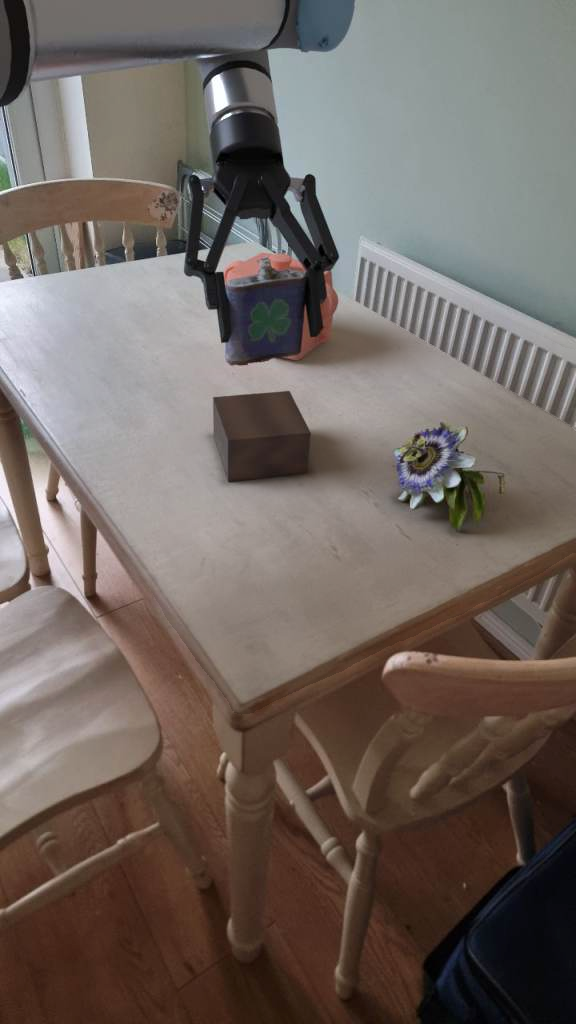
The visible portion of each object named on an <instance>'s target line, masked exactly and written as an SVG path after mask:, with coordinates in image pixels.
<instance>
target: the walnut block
mask: <svg viewBox="0 0 576 1024" xmlns="http://www.w3.org/2000/svg"><path fill="white" fill-rule="evenodd" d="M212 413H213V414H212V417H213V419H212V420H213V421H212V425H213V426H212V427H213V439H214V442H215V445H216V449H217V452H218V456H219V458H220V462H221V464H222V465H221V466H222V467H223V471H224V474H225V477H226V480H227V482H228V483H231V482H241V481H250V480H257V479H258V480H259V479H266V478H276V477H285V476H294V475H303V474H307V473H308V469H309V468H308V467H309V457H310V447H311V436H312V432H311V430H310V429H309V426H308V425H307V422H306V420H305V419H304V416H303V415H302V412H301V411H300V408H299V406H298V404H297V403H296V400H295V399H294V397H293V395H292V393H291V391H290V390H282V391H273V392H259V393H247V394H246V393H245V394H236V395H235V394H233V395H223V396H213V397H212Z"/></svg>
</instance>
